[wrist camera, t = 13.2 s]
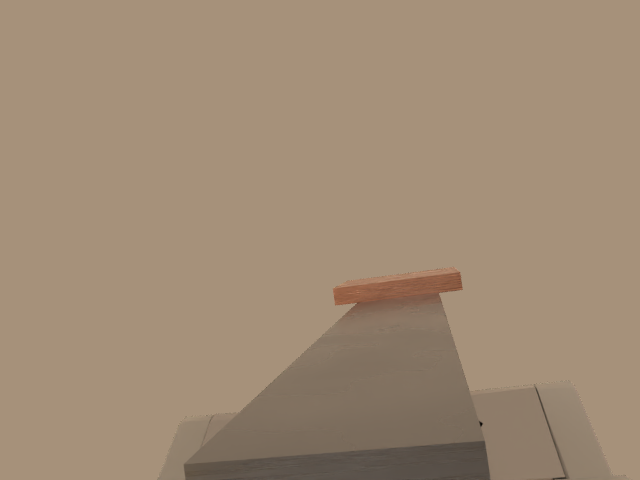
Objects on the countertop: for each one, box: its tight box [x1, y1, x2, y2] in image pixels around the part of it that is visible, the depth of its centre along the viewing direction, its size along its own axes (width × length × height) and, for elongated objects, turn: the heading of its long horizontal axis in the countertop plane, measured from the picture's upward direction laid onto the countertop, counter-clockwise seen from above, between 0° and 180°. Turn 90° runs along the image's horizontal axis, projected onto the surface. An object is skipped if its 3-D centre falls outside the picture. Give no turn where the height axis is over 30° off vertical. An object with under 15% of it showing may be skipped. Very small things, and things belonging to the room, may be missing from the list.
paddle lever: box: [184, 267, 491, 480], centre depth 15 cm, size 4×20×3 cm, turn 170°
